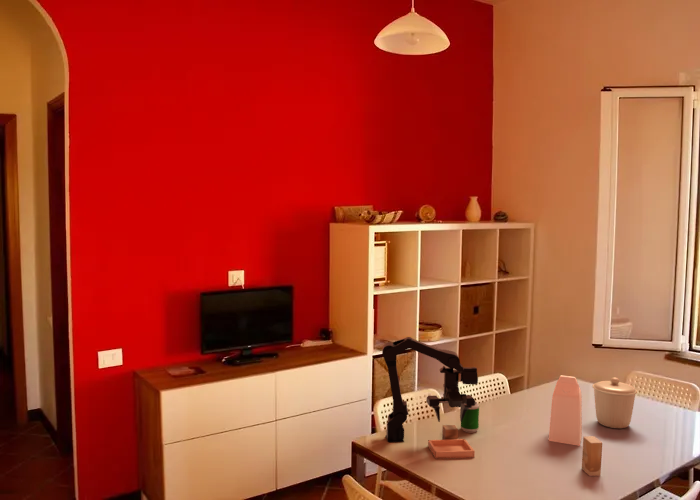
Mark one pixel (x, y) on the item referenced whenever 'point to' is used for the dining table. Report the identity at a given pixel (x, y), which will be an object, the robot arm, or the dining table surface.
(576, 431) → the milk
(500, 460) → the dining table surface
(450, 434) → the walnut block
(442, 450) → the terracotta tray
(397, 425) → the robot arm
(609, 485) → the dining table surface
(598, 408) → the canister
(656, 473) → the dining table surface
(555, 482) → the dining table surface
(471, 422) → the soda can
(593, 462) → the skincare box
